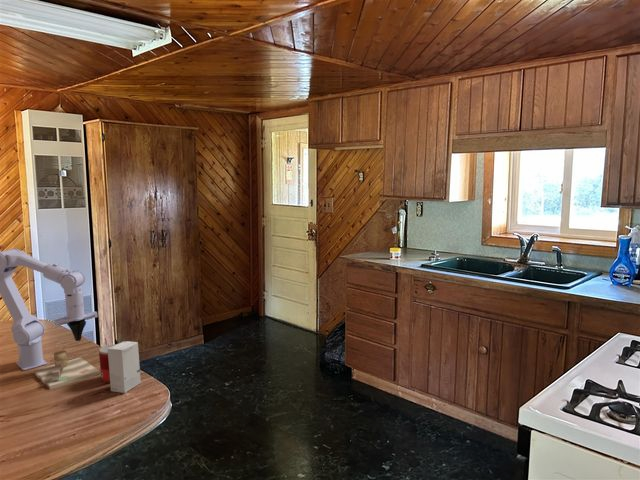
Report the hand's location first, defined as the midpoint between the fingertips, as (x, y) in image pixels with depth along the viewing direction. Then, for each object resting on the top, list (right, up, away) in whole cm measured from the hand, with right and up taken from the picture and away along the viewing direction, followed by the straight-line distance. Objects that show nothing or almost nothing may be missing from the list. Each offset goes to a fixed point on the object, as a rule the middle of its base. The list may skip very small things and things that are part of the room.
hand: (77, 340), depth 172 cm
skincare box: (+25, -13, -16) cm, 32 cm away
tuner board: (-1, -11, -6) cm, 12 cm away
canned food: (+17, -12, -9) cm, 23 cm away
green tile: (0, -11, -13) cm, 17 cm away
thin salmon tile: (+6, -10, -7) cm, 13 cm away
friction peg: (-3, -9, -7) cm, 12 cm away
